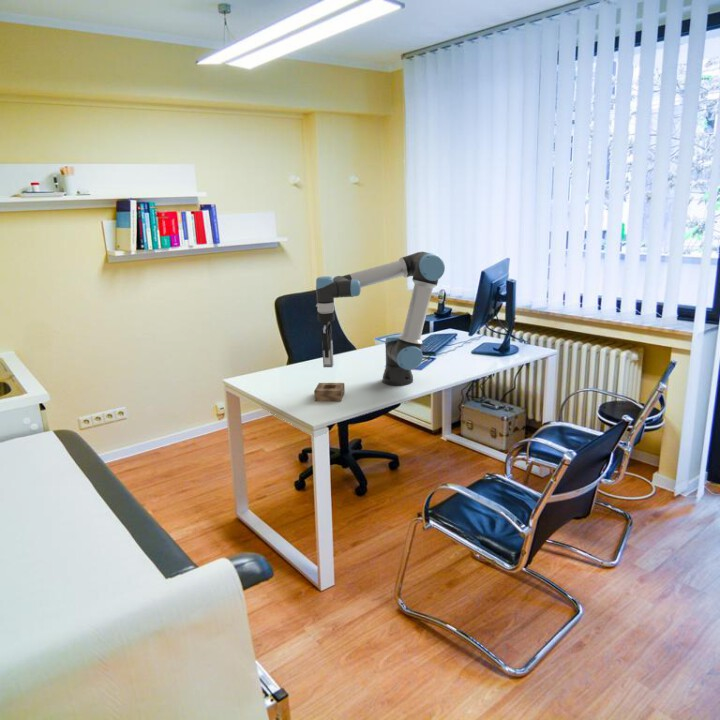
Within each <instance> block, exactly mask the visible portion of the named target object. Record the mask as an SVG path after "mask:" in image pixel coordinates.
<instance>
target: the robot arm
mask: <svg viewBox="0 0 720 720" xmlns="http://www.w3.org/2000/svg"><path fill="white" fill-rule="evenodd" d="M445 268H446V267H445V262H444V260H443V259H442V257H440V255H438V254H436V253H432V252H426V251H419V252H418V251H417V252H415V253H412V254H409V255H406V256H403V257H400V258H398V260H396V261H393V262H389V263H385V264H381V265H377V266H373V267H370V268H366V269H364V270H360V271H356V272H352V273H349V274H345V275H336V276H334V277H333V276H329V275H328V276H318V277H317V278H315V281H316V282H315V291H316V294H315V295H316V305H315V307H317V308H316V309H317V321H318V322H321V323H322V325H321V339H322V342H321V345H322V344H323V349H321V351H322V352H323V351H324V364H331V361H330V349H329V339H332V340H333V333H332V331H333V330H332V325H333V324H332V322H334V321H335V319H336V318H335V312H334V311H335V299H337V298H339V299H340V298H354V297H359V296H360V295H361V289H362V288H364V287H368V286H373V285H376V284H380V283H383V282H387V281H390V280H394V279H398V278H401V277H403V278H410V277H412V278H411V279H412V283H413V284H414V285H413V289H412V293H411V298H410V302H409V305H408V310H407V314H406V319H405V322H404V326H403V330H402V334H399V335H398V334H397V335H389V336H388V335H387V336H386V338H385V343H384V345H385V368H384V371H383V374H382V382H383V384H386V385H389V386H406V385H409V384H412V383H413V382H414V375H413V373H412V372H413V371H412V370H415V369H416V368H418V367H419V366H420V365H421V364H422V361H423V359H424V358H423V357H424V356H423V355H424V354H423V352H422V348H423V343H424V342H423V341H422V339H421V337H422V334H423V329H424V325H425V322H426V318H427V313H428V309H429V306H430V301H431V297H432V293H433V289H434V288H435V287H437V286H438V284H439V280H440V279H441V278H442V276H443V275H444V273H445Z"/></svg>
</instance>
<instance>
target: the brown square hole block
mask: <svg viewBox="0 0 720 720" xmlns="http://www.w3.org/2000/svg"><path fill="white" fill-rule="evenodd" d="M313 393H314V402H342V401H343V398H344V396H345V383H344V382H318V384H317V385H316V387H315V389H314V391H313Z"/></svg>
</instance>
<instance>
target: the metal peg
mask: <svg viewBox="0 0 720 720" xmlns="http://www.w3.org/2000/svg"><path fill="white" fill-rule="evenodd" d="M321 345H322V349H323V344H322V343H321ZM322 349H321V350H322ZM329 349H330V361H331V364H324V351H322V362H323V363H322V364H323V365H322V366H323V368H333V366H334V344H333V338H332V339H329Z"/></svg>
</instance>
